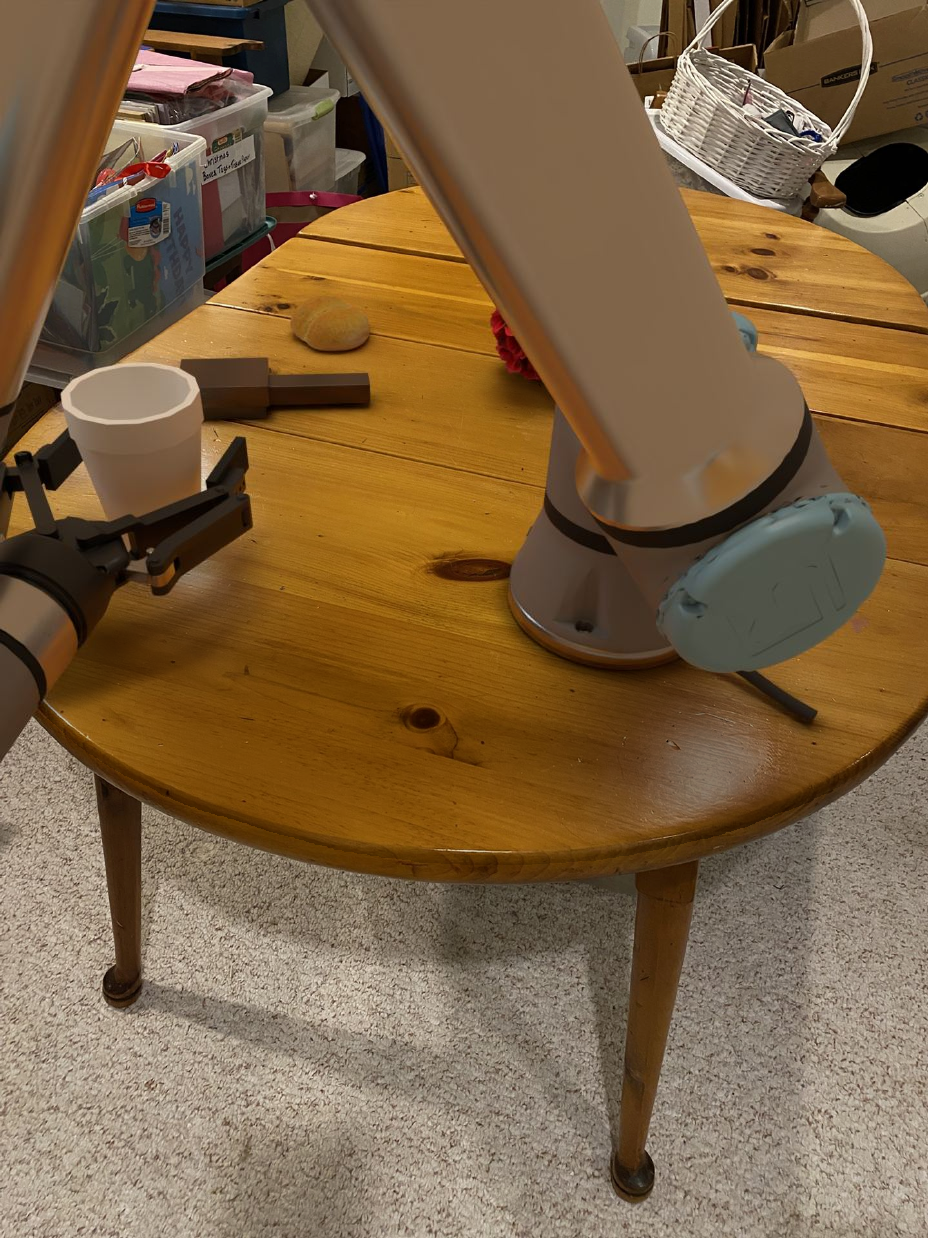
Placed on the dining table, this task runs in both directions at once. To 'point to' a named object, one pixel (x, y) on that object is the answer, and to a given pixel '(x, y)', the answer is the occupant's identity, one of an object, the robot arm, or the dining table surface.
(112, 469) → the foam cup
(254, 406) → the brush
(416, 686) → the dining table surface
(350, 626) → the dining table surface
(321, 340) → the bread roll
